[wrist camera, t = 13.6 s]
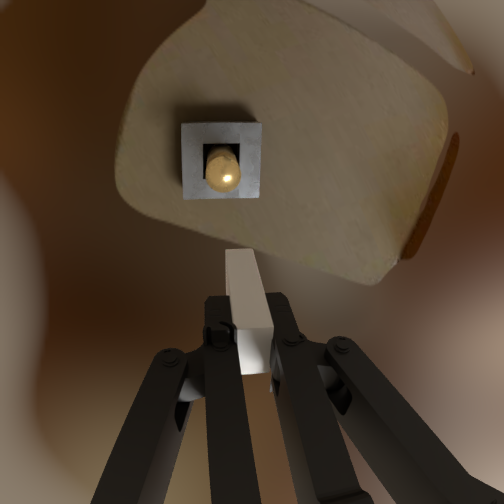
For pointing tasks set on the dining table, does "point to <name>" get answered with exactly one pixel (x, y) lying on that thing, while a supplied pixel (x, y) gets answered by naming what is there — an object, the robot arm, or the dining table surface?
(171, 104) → the dining table surface
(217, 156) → the brass cylinder rod
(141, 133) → the dining table surface
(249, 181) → the block
